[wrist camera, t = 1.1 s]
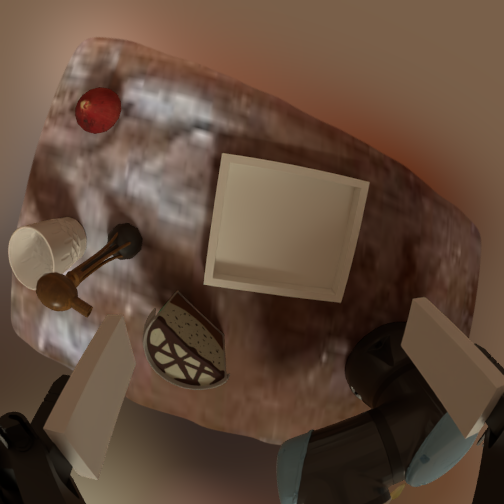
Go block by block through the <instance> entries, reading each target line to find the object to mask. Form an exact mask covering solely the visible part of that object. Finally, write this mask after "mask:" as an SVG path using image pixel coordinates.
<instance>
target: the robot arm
mask: <svg viewBox="0 0 504 504" xmlns="http://www.w3.org/2000/svg"><path fill="white" fill-rule="evenodd" d="M135 365H136V362H135V358H134V355H133V351H132V348H131V344H130V340H129V337H128V333H127V329H126V325H125V321H124V317H123V315H109V314H107V316H106V318H105V319H104V321H103V322H102V324H101V326H100V327H99V329H98V330H97V332H96V334H95V335H94V337H93V339H92V340H91V342H90V344H89V345H88V347H87V349H86V350H85V352H84V354H83V355H82V357H81V359H80V360H79V362H78V364H77V366H76V367H75V369H74V371H73V373H72V374H71V376H69V375H62V376H61V377H59V378H58V379H57V380H56V381H55V382H54V383H53V384H52V386H51V388H50V390H49V391H48V394H47V395H46V397H45V398H44V402H42V404H41V405H40V407H39V409H38V411H37V413H36V414H35V416H34V418H33V420H32V422H31V424H30V423H29V421H28V420H27V418H26V417H25V416H24V415H23V414H21V413H19V412H9V413H6V414H5V415H3V416H1V417H0V504H86V503H85V501H84V499H83V498H82V496H81V494H80V492H79V490H78V488H77V486H76V484H75V482H74V480H73V478H72V477H71V476H70V473H71V470H72V467H73V469H74V470H75V471H76V472H77V473H78V475H79V476H83V477H87V478H91V479H96V480H98V479H99V476H100V472H101V469H102V465H103V462H104V458H105V455H106V452H107V449H108V445H109V442H110V439H111V435H112V432H113V429H114V426H115V423H116V420H117V417H118V414H119V411H120V408H121V405H122V402H123V399H124V396H125V393H126V390H127V388H128V385H129V382H130V379H131V376H132V373H133V371H134V368H135ZM345 375H346V380H347V382H348V384H349V387H350V389H351V391H352V392H353V393H354V395H355V396H357V397H358V398H359V399H361V400H362V401H363V402H364V403H365V404H367V405H368V406H369V407H370V408H372V409H371V410H369V411H366V412H363V413H361V414H359V415H356V416H354V417H351V418H348V419H346V420H343V421H340V422H338V423H335V424H332V425H329V426H327V427H324V428H321V429H318V430H315V431H314V430H310V431H309V432H308V433H305V434H302V435H300V436H297V437H294V438H291V439H289V440H287V441H285V442H284V443H283V444H282V446H281V447H280V449H279V452H278V459H277V483H278V491H279V497H280V501H281V504H389V503H390V501H391V496H390V493H389V490H388V487H390V486H391V485H394V484H396V483H398V482H401V481H403V480H405V481H406V483H408V484H410V485H411V486H413V487H418V486H421V485H426V484H428V483H430V482H432V481H434V480H435V479H437V478H439V477H440V476H442V475H443V474H445V473H446V472H447V471H449V470H450V469H451V468H452V467H453V466H454V465H455V464H456V463H457V462H459V461H460V460H461V458H462V457H463V456H464V455H465V454H466V453H467V451H468V450H469V449H470V447H471V446H472V444H473V443H474V441H475V439H476V437H477V434H478V432H479V431H480V429H481V428H482V426H483V425H484V423H485V422H486V424H487V425H488V428H487V430H486V431H485V432H484V434H483V435H482V437H481V438H480V439H479V441H478V443H477V445H480V443H481V442H482V441H483V439H484V443H483V445H482V446H483V453H482V459H481V465H480V470H479V476H478V481H477V485H476V490H475V494H474V498H473V502H472V504H504V369H503V367H502V366H500V364H499V363H497V361H496V360H495V359H494V358H493V357H491V355H490V354H489V353H488V352H487V351H486V350H485V349H484V348H482V347H481V346H479V345H477V344H473V343H472V342H471V341H470V340H469V339H468V338H467V337H466V336H465V335H464V334H463V333H462V332H461V331H460V330H459V329H458V328H457V327H456V326H455V325H454V324H453V323H452V322H451V321H450V320H449V319H448V318H447V317H446V316H445V315H444V314H443V313H442V312H441V311H439V310H438V309H437V308H436V307H435V306H434V305H433V304H432V303H431V302H430V301H429V300H428V299H427V298H425V297H422V298H414V299H412V304H411V308H410V312H409V316H408V320H407V323H405V322H395V323H390V324H387V325H384V326H381V327H379V328H377V329H375V330H374V331H372V332H371V333H369V334H368V335H367V336H365V337H364V338H363V339H362V340H361V341H360V342H359V343H358V344H357V345H356V347H355V348H354V349H353V351H352V353H351V354H350V356H349V358H348V361H347V364H346V369H345Z"/></svg>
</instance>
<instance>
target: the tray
mask: <svg viewBox="0 0 504 504" xmlns="http://www.w3.org/2000/svg"><path fill="white" fill-rule="evenodd" d="M369 183H370V182H367V181H363V180H359V179H355V178H351V177H347V176H342V175H338V174H334V173H329V172H325V171H320V170H315V169H311V168H306V167H301V166H296V165H291V164H285V163H280V162H275V161H269V160H263V159H257V158H251V157H245V156H239V155H232V154H225V153H222V158H221V164H220V170H219V177H218V183H217V189H216V196H215V203H214V209H213V216H212V223H211V230H210V238H209V245H208V253H207V260H206V268H205V276H204V285H210V286H216V287H223V288H230V289H237V290H244V291H251V292H258V293H266V294H273V295H281V296H288V297H296V298H304V299H313V300H321V301H330V302H339V303H341V301H342V298H343V294H344V291H345V287H346V283H347V280H348V276H349V272H350V268H351V264H352V260H353V256H354V252H355V248H356V244H357V240H358V236H359V231H360V227H361V222H362V218H363V213H364V208H365V203H366V198H367V193H368V188H369Z"/></svg>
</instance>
